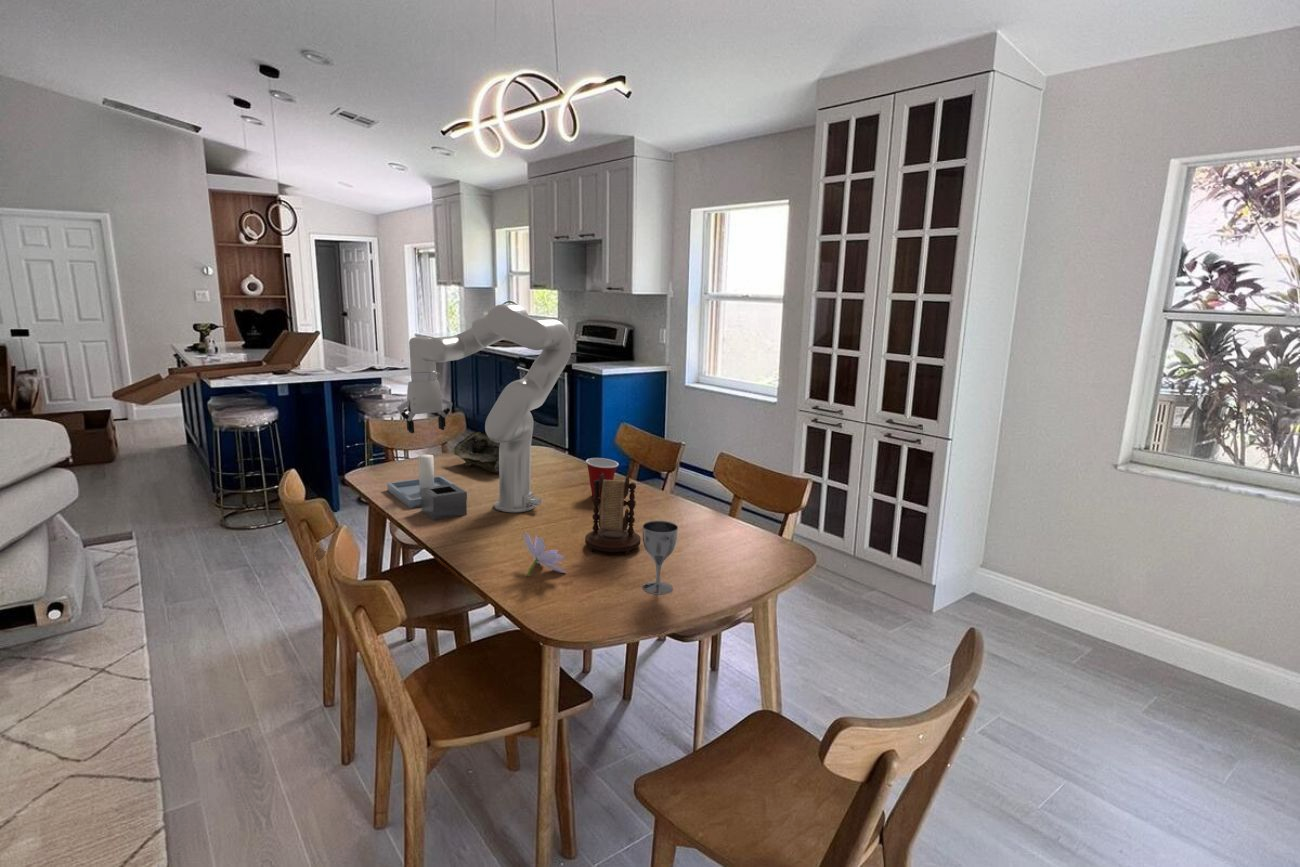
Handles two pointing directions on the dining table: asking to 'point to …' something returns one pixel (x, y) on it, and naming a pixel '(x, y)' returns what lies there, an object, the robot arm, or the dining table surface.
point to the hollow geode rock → (479, 451)
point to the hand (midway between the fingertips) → (426, 430)
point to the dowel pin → (426, 471)
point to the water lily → (542, 554)
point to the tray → (413, 490)
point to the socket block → (443, 501)
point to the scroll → (613, 517)
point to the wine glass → (659, 550)
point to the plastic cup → (600, 470)
